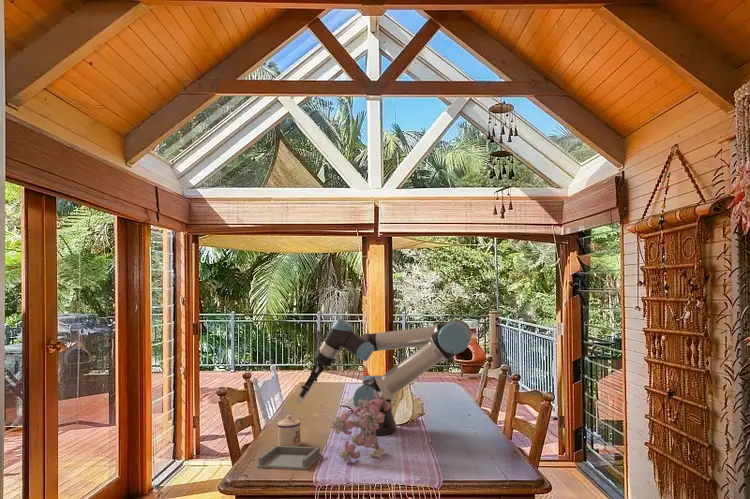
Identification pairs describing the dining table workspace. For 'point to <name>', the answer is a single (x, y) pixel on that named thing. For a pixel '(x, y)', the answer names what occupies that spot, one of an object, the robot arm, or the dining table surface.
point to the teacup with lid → (289, 432)
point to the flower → (363, 426)
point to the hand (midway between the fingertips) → (301, 398)
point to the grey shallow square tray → (289, 457)
